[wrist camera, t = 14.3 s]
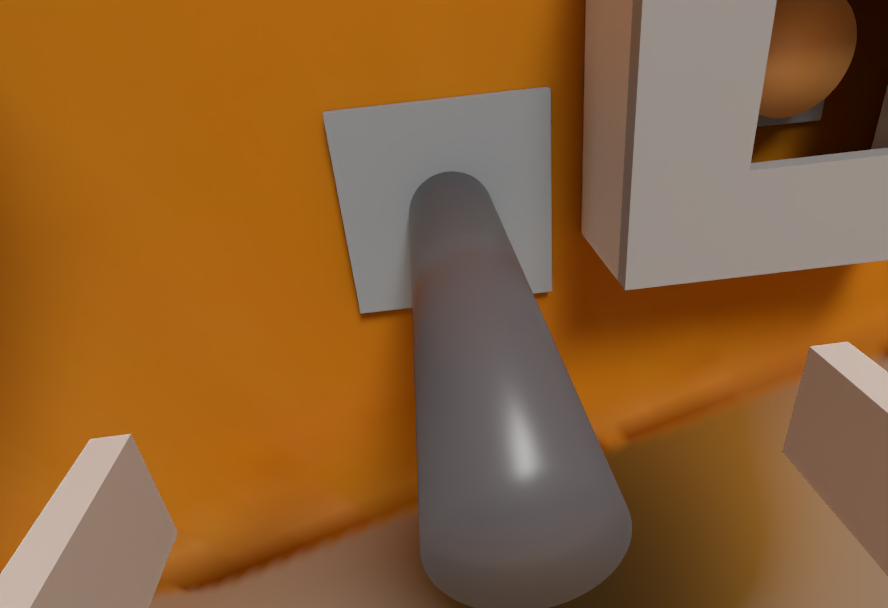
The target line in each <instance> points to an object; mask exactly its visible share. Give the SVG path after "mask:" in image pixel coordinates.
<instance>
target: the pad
mask: <svg viewBox="0 0 888 608" xmlns="http://www.w3.org/2000/svg"><path fill="white" fill-rule="evenodd" d="M323 119H324V125H325V130H326V135H327V140H328V146H329V151H330V156H331V161H332V167H333V172H334V177H335V182H336V188H337V193H338V198H339V203H340V209H341V214H342V219H343V224H344V229H345V235H346V240H347V245H348V250H349V256H350V261H351V266H352V271H353V277H354V282H355V287H356V292H357V298H358V303H359V308H360V313H361V314H362V313H371V312H379V311H388V310H396V309H405V308H412V283H411V251H410V219H409V209H410V203H411V200H412V197H413V195H414V193H415V191H416V190H417V189H418V187H419V186H420V185H421V184H422V183H423V182H424V181H425V180H427V179H428V178H430V177H432V176H434V175H436V174H439V173H442V172H449V171H455V172H462V173H466V174H468V175H471V176H472V177H474V178H476V179H477V180H478V181H480V182H481V183H482V184H483V185H484V187H485V188H486V189H487V191H488V193H489V195H490V197H491V199H492V202H493V204H494V206H495V209H496V211H497V213H498V215H499V218H500V220H501V222H502V224H503V227H504V229H505V231H506V233H507V236H508V238H509V240H510V242H511V245H512V247H513V249H514V252H515V254H516V256H517V258H518V261H519V263H520V265H521V267H522V270H523V272H524V274H525V276H526V279H527V281H528V283H529V286H530V288H531V290H532V292H533V294H534V293H543V292H552V206H551V89H550V88H549V87H539V88H530V89H521V90H512V91H503V92H494V93H485V94H476V95H467V96H458V97H449V98H441V99H432V100H423V101H414V102H405V103H396V104H387V105H378V106H369V107H360V108H351V109H342V110H333V111H324V113H323Z"/></svg>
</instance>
